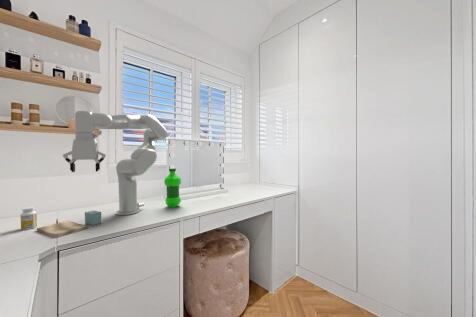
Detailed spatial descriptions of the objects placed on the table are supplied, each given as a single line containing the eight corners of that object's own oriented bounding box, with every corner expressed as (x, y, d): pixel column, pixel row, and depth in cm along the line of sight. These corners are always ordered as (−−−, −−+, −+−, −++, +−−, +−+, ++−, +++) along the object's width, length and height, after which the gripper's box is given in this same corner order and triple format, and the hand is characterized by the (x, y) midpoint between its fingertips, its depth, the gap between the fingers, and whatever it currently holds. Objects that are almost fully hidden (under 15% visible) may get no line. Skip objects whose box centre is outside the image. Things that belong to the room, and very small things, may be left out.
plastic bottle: (161, 208, 134) (160, 169, 133) (170, 204, 144) (169, 167, 143) (175, 208, 131) (175, 169, 131) (184, 204, 141) (183, 167, 141)
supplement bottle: (29, 226, 103) (28, 206, 102) (40, 226, 102) (39, 206, 102) (17, 230, 97) (16, 209, 97) (28, 230, 97) (28, 209, 97)
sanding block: (85, 224, 104) (84, 212, 104) (93, 221, 108) (93, 210, 108) (92, 226, 101) (92, 214, 101) (101, 223, 105) (101, 211, 105)
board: (67, 222, 106) (67, 220, 106) (87, 228, 98) (87, 225, 98) (36, 230, 96) (36, 228, 96) (55, 237, 87) (55, 234, 87)
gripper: (106, 138, 110) (107, 170, 110) (65, 136, 103) (65, 171, 103) (104, 136, 103) (104, 171, 103) (60, 135, 96) (60, 172, 96)
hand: (85, 171), depth 103 cm, fingers open, 9 cm apart
